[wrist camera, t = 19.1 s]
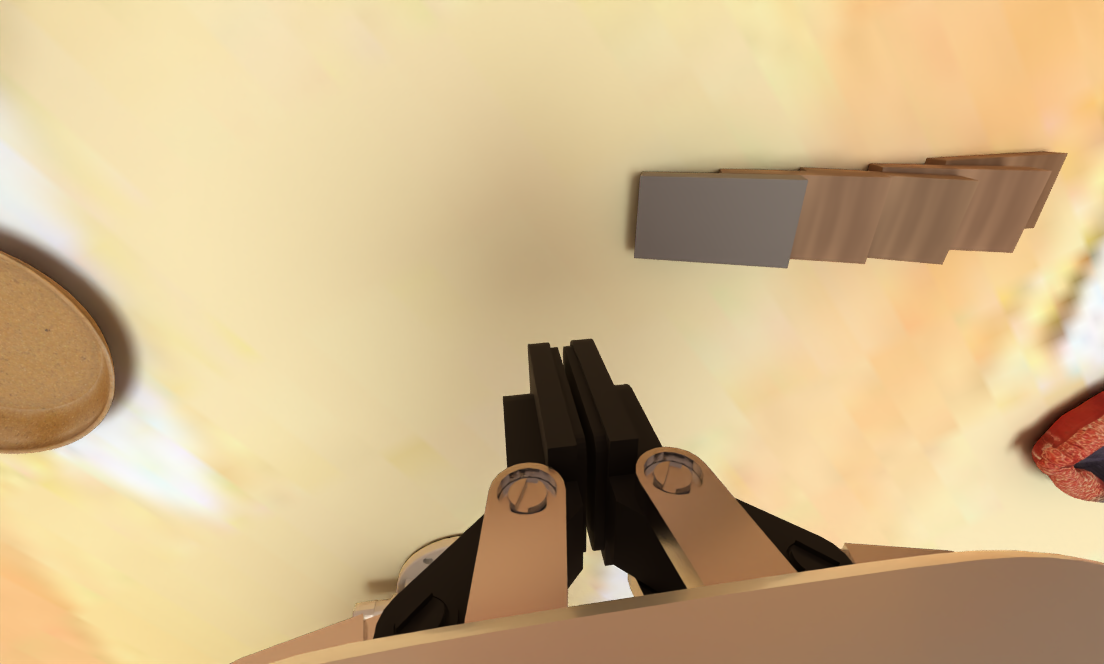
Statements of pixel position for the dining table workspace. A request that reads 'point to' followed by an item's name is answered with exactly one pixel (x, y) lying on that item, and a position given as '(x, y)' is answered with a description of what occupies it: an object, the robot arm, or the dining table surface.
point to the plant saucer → (48, 363)
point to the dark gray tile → (718, 217)
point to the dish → (1075, 451)
